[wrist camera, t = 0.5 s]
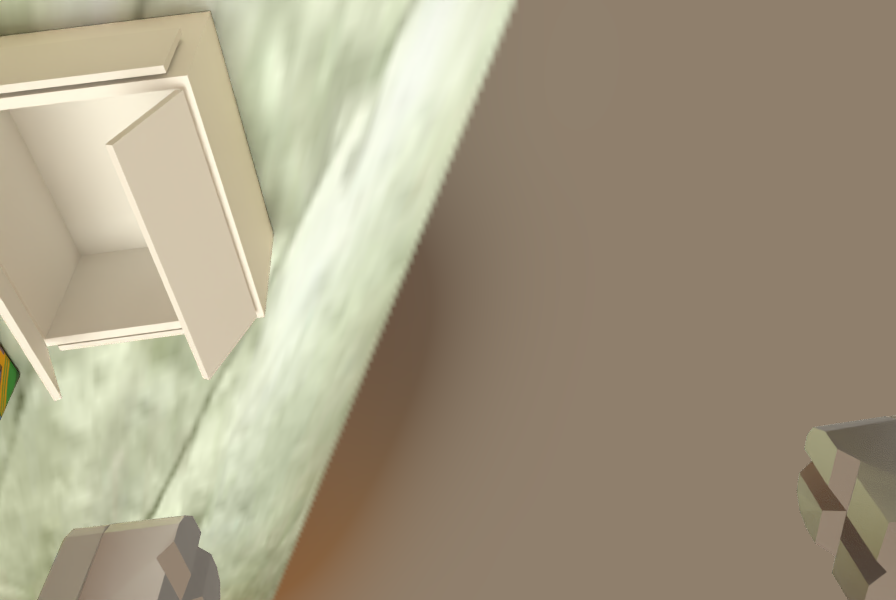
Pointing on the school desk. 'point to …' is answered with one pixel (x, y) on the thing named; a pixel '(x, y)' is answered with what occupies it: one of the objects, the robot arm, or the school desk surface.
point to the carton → (111, 173)
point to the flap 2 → (184, 228)
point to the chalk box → (6, 380)
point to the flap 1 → (27, 335)
